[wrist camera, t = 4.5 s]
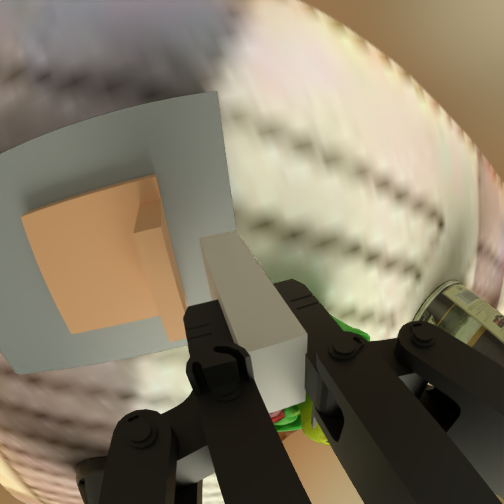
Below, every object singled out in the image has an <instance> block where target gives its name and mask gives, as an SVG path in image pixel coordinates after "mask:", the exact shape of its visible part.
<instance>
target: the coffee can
mask: <svg viewBox="0 0 504 504" xmlns="http://www.w3.org/2000/svg"><path fill="white" fill-rule="evenodd" d="M413 321H425V322H429V323H431V324H433V325H436V326H437V327H439V328H441V329H442V330H444V331H446V332H447V333H449V334H451V335H452V336H454V337H456V338H457V339H459V340H461V341H462V342H464V343H465V344H467V345H469V346H470V347H472V348H474V349H475V350H477V351H479V352H480V353H482V354H483V355H485V356H487V357H488V358H490V359H491V360H493V361H495V362H496V363H498V364H499V365H501V366H503V367H504V316H503V315H502V314H501V313H500V312H498V311H497V310H496V309H494V308H493V307H492V306H490V305H489V304H488V303H486V302H485V301H484V300H482V299H481V298H480V297H478V296H477V295H476V294H474V293H473V292H471V291H470V290H469V289H467V288H466V287H464V286H463V285H462V284H461V283H460V282H459V281H457V280H451V281H448V282H446V283H444V284H442V285H441V286H440V287H438V288H437V289H436V290H435V291H434V292H433V293H432V294H431V295H430V296H429V298H428V299H427V300H426V301H425V302H424V304H423V305H422V307H421V308H420V310H419V311H418V313H417V314H416V316H415V318H414V320H413Z"/></svg>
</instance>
